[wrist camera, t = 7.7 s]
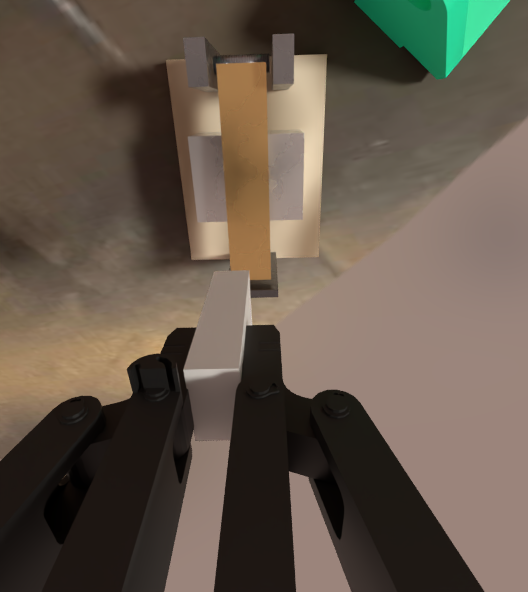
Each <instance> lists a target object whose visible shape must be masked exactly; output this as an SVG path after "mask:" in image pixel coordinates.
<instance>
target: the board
mask: <svg viewBox="0 0 528 592" xmlns="http://www.w3.org/2000/svg"><path fill="white" fill-rule="evenodd" d="M166 65H167V73H168V81H169V88H170V96H171V104H172V111H173V119H174V127H175V135H176V142H177V150H178V158H179V165H180V173H181V181H182V188H183V196H184V204H185V212H186V219H187V227H188V235H189V242H190V250H191V258H192V260H213V259H230V252H229V238H228V224H227V222H198V221H197V213H196V204H195V195H194V187H193V178H192V170H191V161H190V152H189V144H188V136H191V135H194V134H197V133H200V132H221V124H220V110H219V96H218V92H204V91H200V90H197V89H193V88H189V87H188V78H187V69H186V60H185V59H181V60H166ZM326 65H327V54H317V55H294V84H293V85H292V86H291V87H290V88H289V89H288V90H272V56H269V67H270V73H266V79H267V123H268V130H293V129H299V130H301V131H302V132H304V181H303V220H271V221H270V252H276V258H295V257H318V256H319V233H320V209H321V185H322V161H323V137H324V113H325V89H326Z"/></svg>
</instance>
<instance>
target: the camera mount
mask: <svg viewBox="0 0 528 592" xmlns="http://www.w3.org/2000/svg"><path fill="white" fill-rule="evenodd" d="M509 1H510V0H355V1H354V3H355V4H356V5H357V6H358V7H359V8H360V9H361V10H362V11H363V12H364V13H365V14H366V15H367V16H368V17H369V18H370V19H371V20H372V21H373V22H374V23H375V24H376V25H377V26H378V27H379V28H380V29H381V30H382V31H383V32H384V33H385V34H386V35H387V36H388V37H389V38H390V39H391V40H392V41H393V42H394V43H395V44H396V45H397V46H398V47H399V48H400V47H403V46H404V47H405V48H406V49H407V50H408V51H409V52H410V53H411V54H412V55H413V56H414V57H415V58H416V59H417V60H418V61H419V62H420V63H421V64H422V65H423V66H424V67H425V68H426V69H427V70H428V71H429V72H430V73H431V74H432V75H433V76H434V77H435V78H436V79H443V78H446V77H447V76H448V75H449V73H450V72H451V71H452V70H453V69H454V67H455V66H456V65H457V64H458V63H459V61H460V60H461V59H462V58H463V57H464V55H465V54H466V53H467V52H468V50H469V49H470V48H471V47H472V46H473V44H474V43H475V42H476V41H477V40H478V38H479V37H480V36H481V35H482V34H483V32H484V31H485V30H486V29H487V28H488V26H489V25H490V24H491V23H492V21H493V20H494V19H495V18H496V17H497V15H498V14H499V13H500V12H501V11H502V9H503V8H504V7H505V6H506V5H507V3H508V2H509Z"/></svg>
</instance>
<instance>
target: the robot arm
mask: <svg viewBox="0 0 528 592" xmlns="http://www.w3.org/2000/svg"><path fill="white" fill-rule="evenodd" d="M127 372H128V376H129V379H130V383H131V387H132V391H133V394H132V396H131V398H129V399H127V400H124V401H121V402H118V403H114V404H110V405H106V406H102V405H101V403H100V401H99V400H98V399H97V398H95V397H92V396H79V397H75V398H71V399H69V400H67V401H65V402H63V403H61V404H59V405H58V406H57V407H56V408H54V409H53V410H52V411H51V412H50V413H49V414H48V415H47V416H46V417H45V418H44V419H43V420H42V421H41V422H40V423H39V424H38V425H37V426H36V427H35V428H34V429H33V430H32V431H31V432H29V433H28V434H27V435H26V436H25V437H24V438H23V439H22V440H21V441H20V442H19V443H18V444H17V445H16V446H15V447H14V448H13V449H12V450H11V451H10V452H9V453H8V454H7V455H6V456H5V457H4V458H3V459H2V460H1V461H0V592H164V590H165V585H166V580H167V575H168V570H169V565H170V561H171V556H172V551H173V546H174V541H175V537H176V532H177V527H178V522H179V517H180V513H181V508H182V503H183V498H184V493H185V489H186V484H187V479H188V474H189V469H190V465H191V460H192V448H191V437H192V434H193V430H194V436H195V441H214V440H216V441H218V440H230V450H229V458H228V468H227V478H226V486H225V495H224V504H223V513H222V522H221V532H220V540H219V550H218V559H217V568H216V577H215V586H214V592H296V584H295V568H294V550H293V534H292V516H291V501H290V483H289V471H290V472H294V473H297V474H300V475H304V476H307V477H309V481H310V484H311V487H312V489H313V492H314V495H315V497H316V500H317V503H318V505H319V508H320V510H321V513H322V515H323V518H324V521H325V524H326V526H327V529H328V531H329V534H330V536H331V539H332V542H333V545H334V547H335V550H336V552H337V555H338V558H339V560H340V563H341V565H342V568H343V571H344V573H345V576H346V579H347V581H348V584H349V586H350V589H351V591H352V592H484V591H483V589H482V587H481V586H480V584H479V583H478V581H477V580H476V578H475V577H474V575H473V574H472V572H471V571H470V569H469V567H468V566H467V565H466V563H465V561H464V560H463V559H462V557H461V555H460V554H459V552H458V551H457V549H456V548H455V546H454V545H453V543H452V542H451V540H450V539H449V537H448V536H447V534H446V533H445V531H444V529H443V528H442V526H441V525H440V523H439V522H438V520H437V519H436V517H435V516H434V514H433V513H432V511H431V510H430V508H429V507H428V505H427V504H426V502H425V501H424V499H423V498H422V496H421V494H420V493H419V491H418V490H417V489H416V487H415V485H414V484H413V482H412V481H411V479H410V478H409V476H408V475H407V473H406V472H405V471H404V469H403V467H402V466H401V464H400V463H399V461H398V460H397V458H396V456H395V455H394V453H393V452H392V450H391V449H390V447H389V446H388V444H387V443H386V441H385V440H384V438H383V437H382V435H381V434H380V432H379V431H378V429H377V428H376V426H375V425H374V423H373V421H372V420H371V418H370V417H369V415H368V414H367V413H366V411H365V410H364V408H363V406H362V405H361V403H360V402H359V401H358V400H357V399H356V398H355V397H354V396H352V395H351V394H349V393H347V392H344V391H340V390H326V391H323V392H320V393H318V394H317V395H316V396H315V397H314V398H313V399H309V398H305V397H301V396H298V395H296V394H294V393H292V392H291V391H290V390H288V389H287V388H286V386H285V385H284V383H283V379H282V363H281V347H280V333H279V331H278V330H277V329H276V327H275V326H274V325H252V314H251V296H250V277H249V270H240V271H214V274H213V277H212V280H211V283H210V286H209V290H208V293H207V296H206V299H205V302H204V306H203V309H202V312H201V315H200V318H199V321H198V325H197V328H176V329H175V330H174V331H173V332H172V333H171V334H170V335H168V337H167V339H166V341H165V344H164V347H163V348H162V351H161V354H152V355H147V356H144V357H141V358H139V359H138V360H136V361H134V362H133V363H132V364H131V365H130V366H129V367H128V368H127ZM66 474H67V475H66ZM65 475H66V476H65ZM64 476H65V477H64Z"/></svg>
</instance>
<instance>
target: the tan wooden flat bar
mask: <svg viewBox="0 0 528 592" xmlns="http://www.w3.org/2000/svg"><path fill="white" fill-rule="evenodd" d="M213 69H214V74H215V75H217V82H218V96H219V110H220V124H221V138H222V153H223V167H224V181H225V195H226V209H227V224H228V238H229V252H230V266H231V271H240V270H249V277H250V280H271V255H270V211H269V167H268V123H267V79H266V73H270V67H269V54H246V55H219V56H213Z"/></svg>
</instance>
